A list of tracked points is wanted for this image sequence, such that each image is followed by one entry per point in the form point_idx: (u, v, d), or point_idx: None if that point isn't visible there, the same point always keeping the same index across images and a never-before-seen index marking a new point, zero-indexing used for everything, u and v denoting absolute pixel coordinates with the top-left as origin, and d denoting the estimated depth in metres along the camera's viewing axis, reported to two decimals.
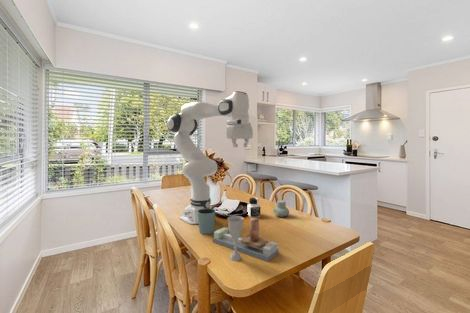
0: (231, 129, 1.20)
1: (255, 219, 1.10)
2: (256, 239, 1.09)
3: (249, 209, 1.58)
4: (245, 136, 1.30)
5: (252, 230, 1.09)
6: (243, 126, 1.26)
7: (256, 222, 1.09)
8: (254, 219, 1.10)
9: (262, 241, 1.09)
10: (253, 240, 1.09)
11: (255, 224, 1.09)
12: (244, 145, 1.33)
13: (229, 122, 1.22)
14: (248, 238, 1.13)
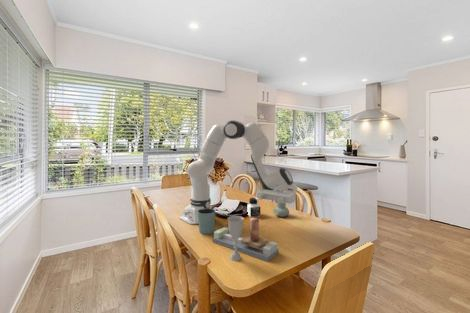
0: (293, 200, 1.22)
1: (255, 219, 1.10)
2: (256, 239, 1.09)
3: (249, 209, 1.58)
4: None
5: (252, 230, 1.09)
6: None
7: (256, 222, 1.09)
8: (254, 219, 1.10)
9: (262, 241, 1.09)
10: (253, 240, 1.09)
11: (255, 224, 1.09)
12: (262, 197, 1.23)
13: (295, 195, 1.25)
14: (248, 238, 1.13)
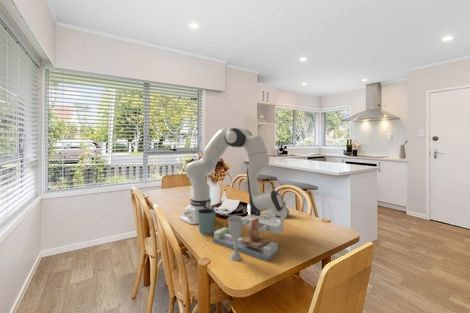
0: (281, 229, 1.12)
1: (255, 219, 1.10)
2: (256, 239, 1.09)
3: (249, 209, 1.58)
4: None
5: (252, 230, 1.09)
6: None
7: (256, 222, 1.09)
8: (254, 219, 1.10)
9: (262, 241, 1.09)
10: (253, 240, 1.09)
11: (255, 224, 1.09)
12: None
13: (283, 222, 1.15)
14: (248, 238, 1.13)
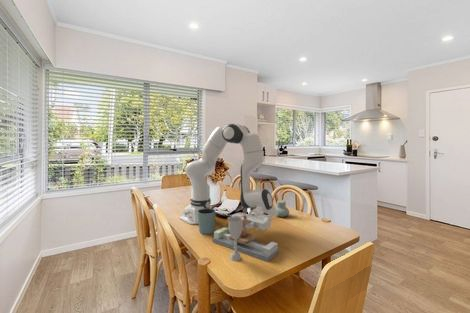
0: (268, 226, 1.16)
1: (243, 216, 1.14)
2: (244, 235, 1.14)
3: (249, 209, 1.58)
4: None
5: None
6: None
7: (244, 219, 1.13)
8: (242, 216, 1.14)
9: (249, 237, 1.14)
10: (241, 236, 1.13)
11: (243, 221, 1.13)
12: None
13: (270, 220, 1.19)
14: None
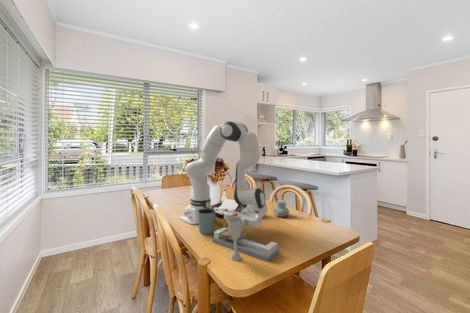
0: (259, 224, 1.19)
1: (234, 214, 1.17)
2: None
3: None
4: None
5: None
6: None
7: None
8: (233, 214, 1.17)
9: None
10: None
11: None
12: None
13: (261, 217, 1.22)
14: (228, 232, 1.20)
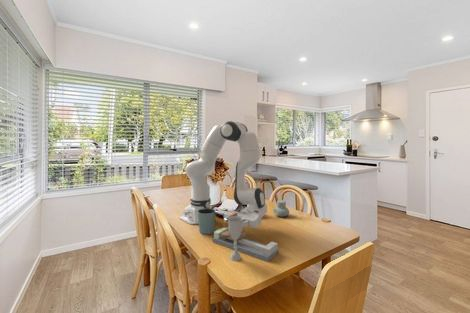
0: (258, 223, 1.19)
1: (234, 214, 1.17)
2: None
3: None
4: None
5: None
6: None
7: None
8: (233, 214, 1.17)
9: None
10: None
11: None
12: (227, 220, 1.21)
13: (260, 217, 1.23)
14: (228, 232, 1.20)
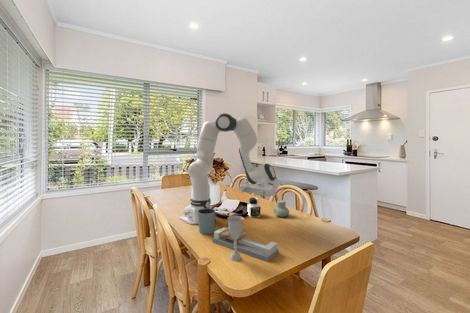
0: (273, 194, 1.31)
1: (234, 214, 1.17)
2: None
3: (249, 209, 1.58)
4: None
5: None
6: None
7: None
8: (233, 214, 1.17)
9: None
10: None
11: None
12: (244, 190, 1.32)
13: (274, 189, 1.34)
14: (228, 232, 1.20)
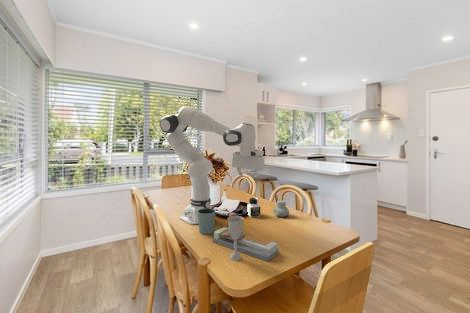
0: (263, 161, 1.29)
1: (234, 214, 1.17)
2: None
3: (249, 209, 1.58)
4: None
5: None
6: None
7: None
8: (233, 214, 1.17)
9: None
10: None
11: None
12: (241, 174, 1.37)
13: (260, 154, 1.27)
14: (228, 232, 1.20)
